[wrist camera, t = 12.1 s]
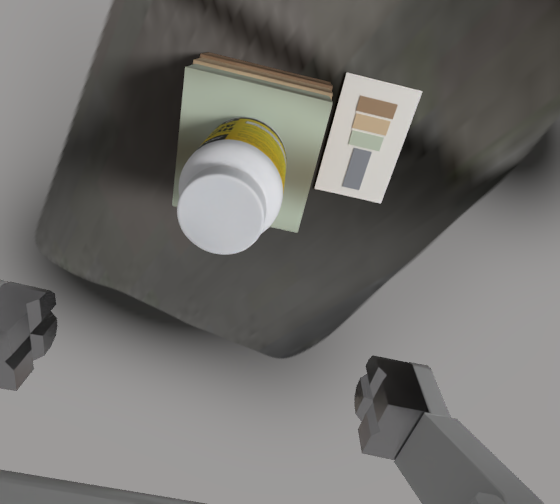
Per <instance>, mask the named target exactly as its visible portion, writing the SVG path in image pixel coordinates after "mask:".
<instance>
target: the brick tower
mask: <svg viewBox="0 0 560 504" xmlns="http://www.w3.org/2000/svg"><path fill="white" fill-rule="evenodd" d="M332 88H333V86H332V85H331V83H330V82H327V81H323V80H319V79H315V78H311V77H307V76H303V75H299V74H295V73H291V72H287V71H282V70H278V69H274V68H270V67H266V66H262V65H258V64H254V63H250V62H246V61H242V60H238V59H234V58H230V57H226V56H222V55H218V54H214V53H209V52H207V53H202V54H200V58H198V59H194V60H193V65H190V66H186V67H185V74H184V84H183V95H182V106H181V116H180V127H179V137H178V148H177V158H176V169H175V179H174V190H173V200H172V206H176V207H177V204H178V200H179V179H180V175H181V172H182V169H183V167H184V165H185V164H186V162H187V161H188V159H189V158H190V156H191V155H192V154H193V153H194V152H195V151H196V150H197V149H198V148H199V146H200V145H201V144H202V143H203V142H204V141H205V140H206V138H207V137H208V136H209V135H210V134H211V133H212V132H213V131H214V130H215V129H216V128H217V127H218V126H219V125H220V124H222V123H223V122H225V121H227V120H229V119H232V118H236V117H252V118H255V119H258V120H261V121H263V122H265V123H266V124H268V125H269V126H271V127H272V128H273V129H274V130H275V131H276V132H277V134H278V135H279V136H280V138H281V140H282V142H283V144H284V147H285V150H286V156H287V165H286V174H285V184H284V193H283V200H282V204H281V208H280V211H279V213H278V215H277V217H276V219H275V220H274V222H273V223H272V224H271V226H270V227H273V228H278V229H283V230H287V231H292V232H297V233H298V229H299V225H300V222H301V218H302V214H303V211H304V207H305V203H306V200H307V196H308V192H309V189H310V185H311V181H312V178H313V174H314V170H315V166H316V163H317V159H318V155H319V152H320V148H321V144H322V141H323V137H324V133H325V130H326V126H327V122H328V119H329V115H330V111H331V108H332V104H333V102H332V100H331V99H332V95H333V93H332V92H331V91H332Z"/></svg>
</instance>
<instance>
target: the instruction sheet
mask: <svg viewBox="0 0 560 504" xmlns="http://www.w3.org/2000/svg"><path fill="white" fill-rule="evenodd" d="M422 92H423V91H420V90H416V89H412V88H407V87H403V86H399V85H395V84H391V83H387V82H383V81H379V80H375V79H371V78H367V77H363V76H359V75H355V74H351V73H347V72H346V76H345V79H344V83H343V86H342V90H341V94H340V97H339V101H338V104H337V108H336V112H335V115H334V119H333V122H332V126H331V130H330V133H329V137H328V140H327V144H326V148H325V151H324V155H323V158H322V162H321V166H320V169H319V173H318V176H317V180H316V184H315V187H314V189H319V190H323V191H328V192H332V193H337V194H341V195H345V196H350V197H354V198H359V199H363V200H368V201H372V202H377V203H381V202H382V199H383V197H384V194H385V191H386V188H387V186H388V183H389V180H390V178H391V175H392V172H393V170H394V167H395V164H396V162H397V159H398V156H399V153H400V151H401V148H402V145H403V143H404V140H405V137H406V135H407V132H408V129H409V127H410V124H411V121H412V118H413V116H414V113H415V110H416V108H417V105H418V102H419V100H420V97H421V94H422Z"/></svg>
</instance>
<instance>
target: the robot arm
mask: <svg viewBox="0 0 560 504" xmlns="http://www.w3.org/2000/svg"><path fill="white" fill-rule="evenodd" d="M55 305H56V298H55V293H53V292H52V291H50V290H45V289H41V288H36V287H32V286H27V285H23V284H19V283H14V282H8V281H3V280H0V388H1V389H8V390H14V391H17V390H18V388H19V387H20V386H21V385H22V383H23V382H24V381H25V379H26V378H27V377H28V376H29V374H30V373H31V372H32V371H33V369H34V367H33V360H36V359H37V358H40V357H42V356H44V355H45V354H46V352H47V351H48V350H49V349H50V347H51V345H52V343H53V341H54V338H55V336H56V331H57V318H56V317H55V316H54V314H53V313H52V312H51V310H52V309H53V308H54V306H55ZM366 370H367V374H366V375H364V376H363V377H361V378H360V380H359V382H358V384H357V387H356V392H355V413H356V415H357V416H358V418H359V419H360V420H361V421H362V422H361V424H360V426H359V429H358V432H359V438H360V444H361V450H362V453H363V454H368V455H373V456H377V457H382V458H387V459H392V460H395V461H394V462H395V464H396V465H397V467H398V468H399V470H400V471H401V473H402V474H403V476H404V477H405V479H406V480H407V482H408V483H409V484H410V486H411V488H412V489H413V491H414V492H415V494H416V495H417V496H418V498H419V500H420V501H421V503H422V504H544V503H543V502H542V501H541V500H540V499H539V498H538V497H537V496H536V495H535V494H534V493H533V492H532V491H531V490H530V489H529V488H528V487H527V486H526V485H525V484H524V483H523V482H521V480H519V478H517V477H516V476H515V475H514V474H513V473H512V472H511V471H510V470H509V469H508V468H507V467H506V466H505V465H504V464H503V463H502V462H501V461H500V460H499V459H498V458H497V457H496V456H495V455H494V454H493V453H492V452H490V450H489V449H487V448H486V447H485V446H484V445H483V444H482V443H481V442H480V441H479V440H478V439H477V438H476V437H475V436H474V435H473V434H472V433H471V432H470V431H469V430H468V429H467V428H466V427H465V426H464V425H463V424H462V423H461V422H460V421H458V419H455V418H451V416H450V414H449V411H448V409H447V407H446V404H445V402H444V399H443V397H442V395H441V392H440V389H439V387H438V385H437V382H436V380H435V377H434V375H433V372H432V370H431V368H430V367H429V366H427V365H422V364H416V363H411V362H409V363H408V362H403V361H398V360H393V359H388V358H383V357H377V356H372V357H371V358H370V359H369V360H368V362H367V364H366ZM0 504H205V503H199V502H193V501H187V500H180V499H175V498H168V497H162V496H156V495H150V494H145V493H138V492H133V491H126V490H120V489H114V488H108V487H102V486H96V485H90V484H84V483H78V482H72V481H66V480H60V479H54V478H48V477H42V476H36V475H30V474H24V473H18V472H12V471H5V470H0Z"/></svg>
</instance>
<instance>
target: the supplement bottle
mask: <svg viewBox="0 0 560 504" xmlns="http://www.w3.org/2000/svg"><path fill="white" fill-rule="evenodd" d="M286 165H287V156H286V150H285V147H284V144H283V142H282V140H281V138H280V136H279V135H278V134H277V132H276V131H275V130H274V129H273V128H272V127H271V126H269V125H268V124H266V123H265V122H263V121H261V120H258V119H255V118H252V117H236V118H232V119H229V120H227V121H225V122H223V123H222V124H220V125H219V126H218V127H217V128H216V129H215V130H214V131H213V132H212V133H211V134H210V135H209V136H208V137H207V138H206V140H205V141H204V142H203V143H202V144H201V145H200V146H199V148H198V149H197V150H196V151H195V152H194V153H193V154H192V155H191V156H190V158H189V159H188V161H187V162H186V164H185V165H184V167H183V169H182V172H181V175H180V179H179V200H178V204H177V217H178V221H179V224H180V227H181V229H182V231H183V232H184V234H185V235H186V236H187V238H188V239H189V240H190V241H191V242H192V243H194V244H195V245H196V246H198V247H199V248H201V249H203V250H205V251H208V252H211V253H215V254H225V255H227V254H234V253H238V252H241V251H243V250H245V249H247V248H248V247H250V246H251V245H252V244H253V243H254V242H255V241H256V240H257V239H258V237H259V236H260V234H261V233H263V232H264V231H265V230H267V229H268V228H269V227H270V226H271V224H272V223H273V222H274V220H275V219H276V217H277V215H278V213H279V211H280V208H281V204H282V200H283V193H284V184H285V174H286Z"/></svg>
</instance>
